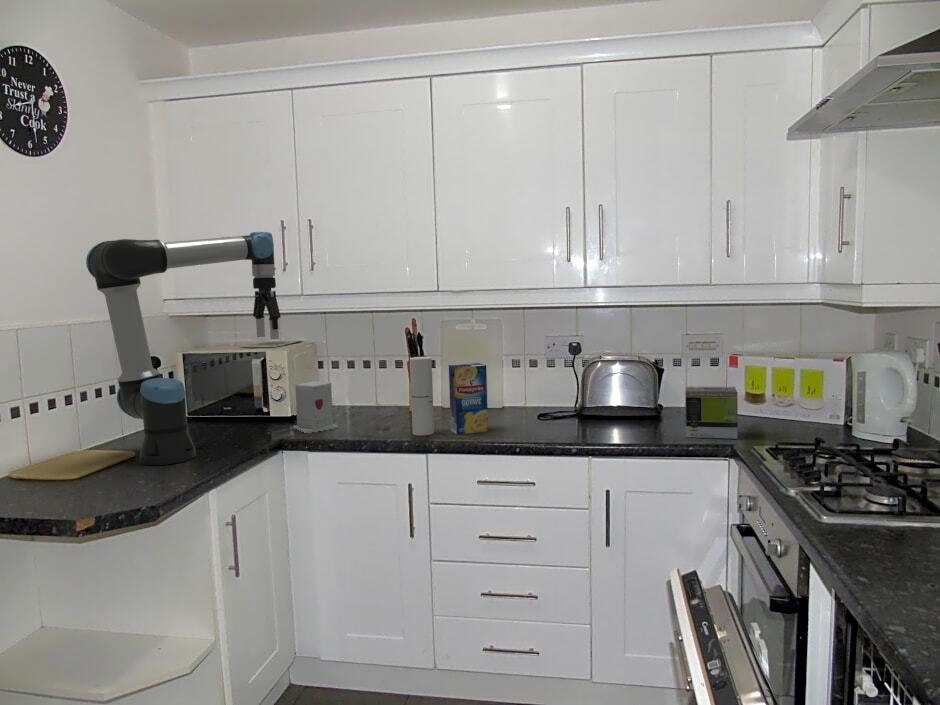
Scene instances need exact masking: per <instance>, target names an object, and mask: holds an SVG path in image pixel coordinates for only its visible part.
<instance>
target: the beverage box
mask: <svg viewBox="0 0 940 705" xmlns="http://www.w3.org/2000/svg"><path fill="white" fill-rule="evenodd" d="M487 379H488V378H487V364H483V363H480V362H475V363H462V364H461V363H460V364H450V365H448V381H449V382H448V385H449V386H448V387H449V415H450V416H449V417H450V431H452V432H453V433H454V434H455V435H456V436H457V435H465V434H473V433H474V434H475V433H484V432H489V420H488V419H489V415H488V411H489V410H488V380H487Z"/></svg>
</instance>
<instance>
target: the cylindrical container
mask: <svg viewBox="0 0 940 705" xmlns="http://www.w3.org/2000/svg"><path fill="white" fill-rule="evenodd" d="M432 360H433V359H432V357H431V356H414V357H410V358H409V371H410V372H409V373H410V375H409V377H410V378H409V379H410V395H411V396H410V402H411V425H412V435H415V436H430V435H433V434H435V417H434V416H435V414H434V390H433V389H434V388H433V365H432V364H433V362H432Z"/></svg>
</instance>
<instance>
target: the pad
mask: <svg viewBox="0 0 940 705" xmlns="http://www.w3.org/2000/svg"><path fill="white" fill-rule="evenodd" d="M293 428H294V429H293ZM335 428H339V425H338V424H335V423H333V425H329V426H325V427H321V428H317V429H311V428H304V427H298V426H297V424H296V425H293V426H292V429H293V430H295V429H297V430H299V431H298V432H300V431H301V432H300V433H302V432H304V433H303V434H305V433H309V434H313V433H312V432H315V433H319V432H318V431H321V432H324V431H323V430H327V431H330V430H329V429H333V430H336V429H335ZM297 430H296V431H297Z"/></svg>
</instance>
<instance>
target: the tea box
mask: <svg viewBox="0 0 940 705" xmlns="http://www.w3.org/2000/svg"><path fill="white" fill-rule="evenodd" d="M684 399H685V402H684V403H685V437H686V438H697V439H698V438H701V439H702V438H703V439H728V440H729V439H730V440H731V439H734V440H736V439H738V434H739V433H738V428H739V423H738V416H739V414H738V411H739V409H738V408H739V406H738V403H739V402H738V391H737V389H736V386H685V398H684Z"/></svg>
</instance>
